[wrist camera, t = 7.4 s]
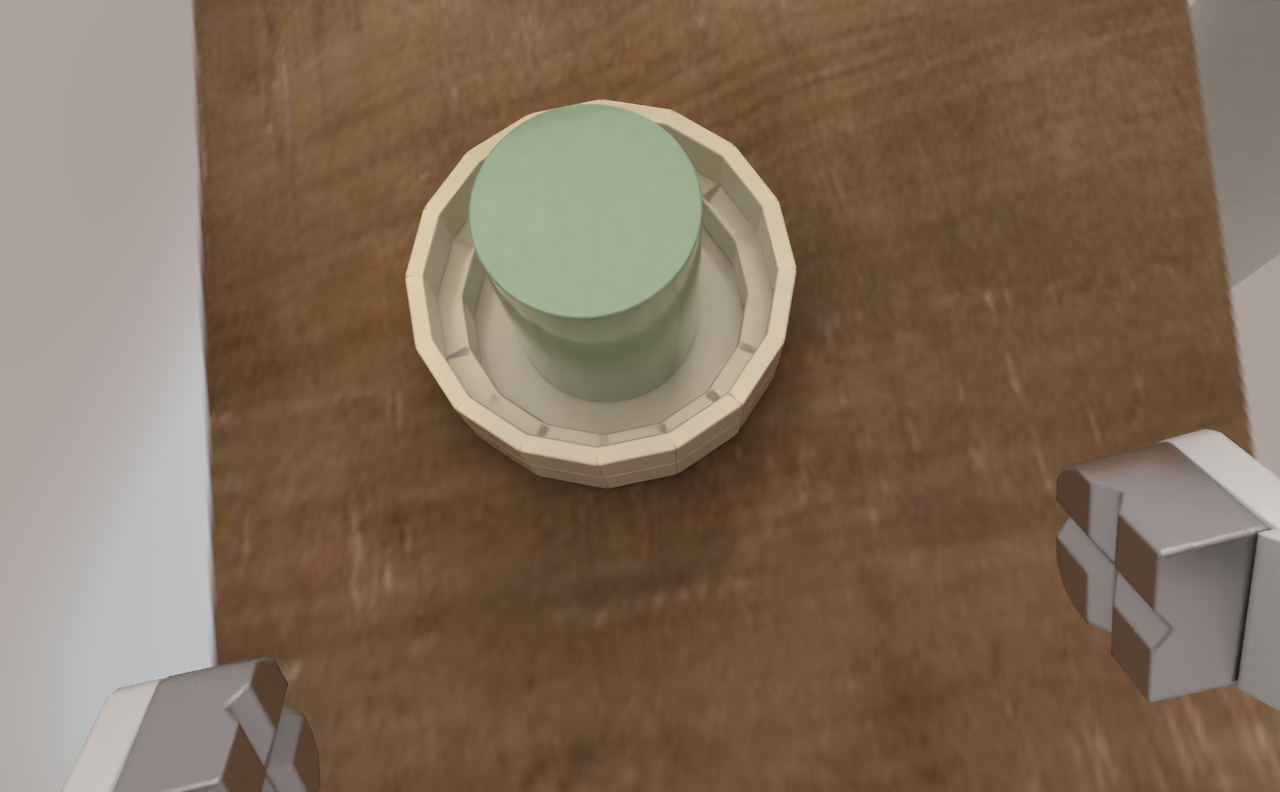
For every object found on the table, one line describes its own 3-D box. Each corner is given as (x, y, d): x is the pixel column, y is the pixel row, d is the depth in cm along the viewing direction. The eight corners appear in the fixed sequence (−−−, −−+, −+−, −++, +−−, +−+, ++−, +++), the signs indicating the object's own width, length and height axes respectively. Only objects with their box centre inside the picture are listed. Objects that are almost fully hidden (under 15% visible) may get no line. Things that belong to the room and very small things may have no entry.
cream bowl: (737, 138, 38) (744, 69, 33) (817, 449, 34) (836, 416, 30) (419, 203, 37) (384, 142, 33) (468, 521, 34) (437, 499, 30)
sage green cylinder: (678, 215, 36) (675, 82, 28) (716, 381, 34) (726, 291, 26) (504, 251, 36) (451, 128, 28) (534, 419, 34) (487, 340, 26)
